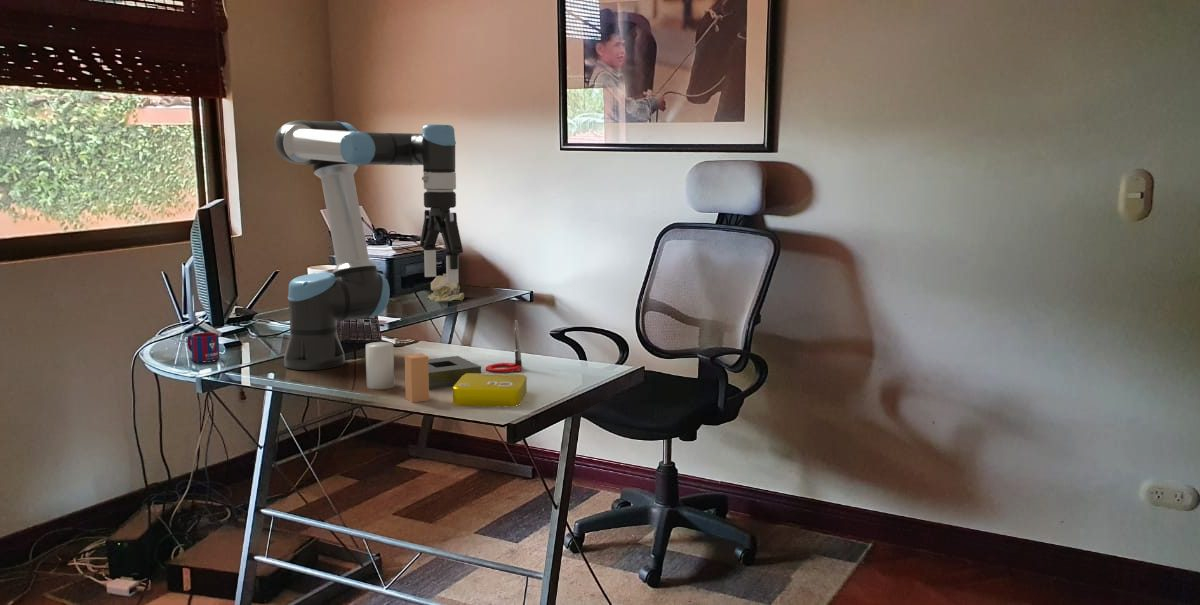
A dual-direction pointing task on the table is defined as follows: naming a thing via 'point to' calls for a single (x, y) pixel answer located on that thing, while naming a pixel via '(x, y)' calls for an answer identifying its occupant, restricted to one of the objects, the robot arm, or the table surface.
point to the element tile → (489, 389)
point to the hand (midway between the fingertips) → (441, 279)
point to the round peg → (380, 365)
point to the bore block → (449, 371)
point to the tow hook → (513, 366)
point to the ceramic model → (445, 290)
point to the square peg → (416, 377)
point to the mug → (204, 346)
